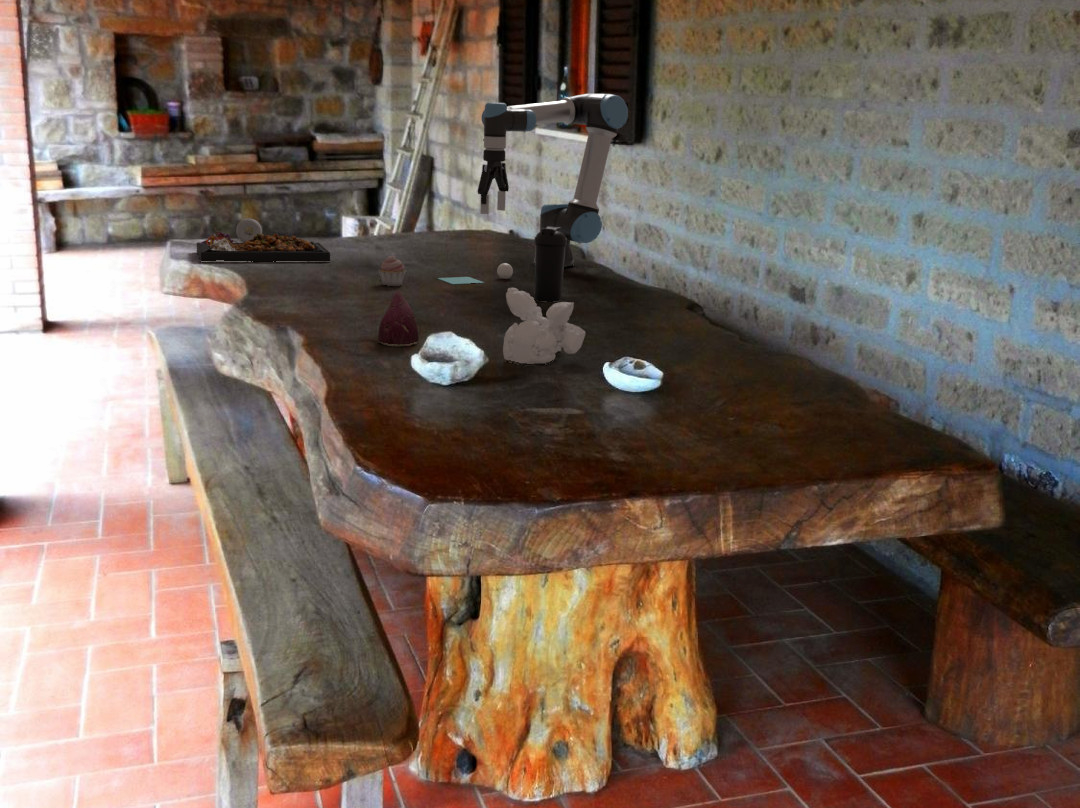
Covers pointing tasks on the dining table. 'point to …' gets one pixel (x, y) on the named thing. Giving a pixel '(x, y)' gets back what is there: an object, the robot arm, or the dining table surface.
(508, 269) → the ball
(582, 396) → the dining table surface
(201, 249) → the food platter
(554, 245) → the water bottle
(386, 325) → the vegetable
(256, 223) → the donut
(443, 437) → the dining table surface
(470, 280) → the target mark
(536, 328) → the grey lumpy lobed block
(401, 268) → the cupcake
